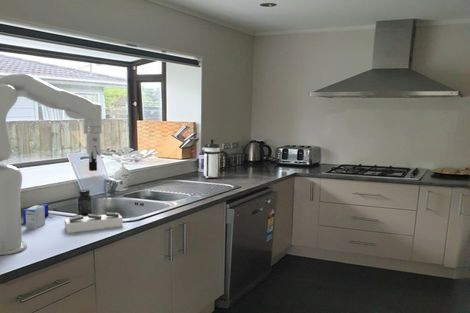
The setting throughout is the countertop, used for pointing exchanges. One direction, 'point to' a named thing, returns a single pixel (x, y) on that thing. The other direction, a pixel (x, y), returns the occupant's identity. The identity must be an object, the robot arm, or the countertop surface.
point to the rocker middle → (94, 216)
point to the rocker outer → (112, 214)
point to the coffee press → (213, 160)
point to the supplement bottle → (84, 202)
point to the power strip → (92, 223)
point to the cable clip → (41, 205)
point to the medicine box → (35, 217)
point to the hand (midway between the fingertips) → (92, 170)
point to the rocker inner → (76, 218)
